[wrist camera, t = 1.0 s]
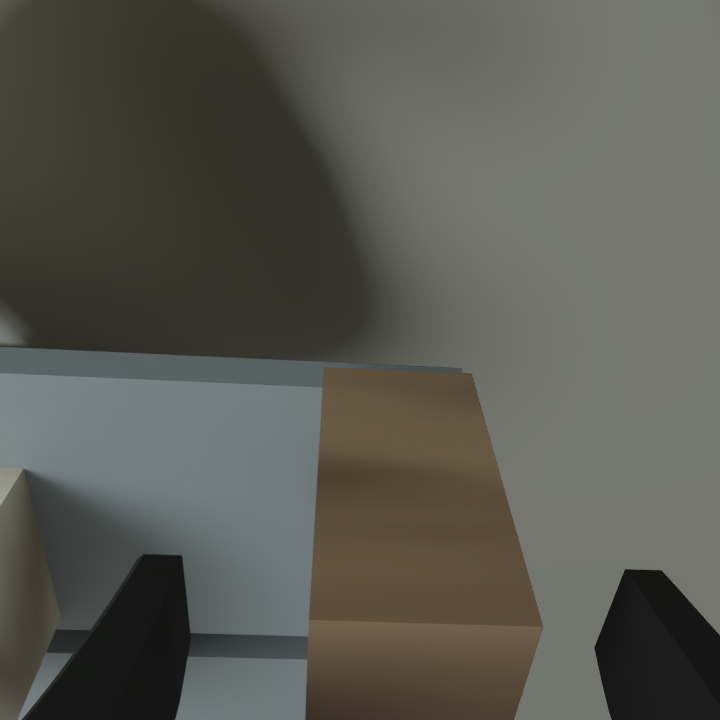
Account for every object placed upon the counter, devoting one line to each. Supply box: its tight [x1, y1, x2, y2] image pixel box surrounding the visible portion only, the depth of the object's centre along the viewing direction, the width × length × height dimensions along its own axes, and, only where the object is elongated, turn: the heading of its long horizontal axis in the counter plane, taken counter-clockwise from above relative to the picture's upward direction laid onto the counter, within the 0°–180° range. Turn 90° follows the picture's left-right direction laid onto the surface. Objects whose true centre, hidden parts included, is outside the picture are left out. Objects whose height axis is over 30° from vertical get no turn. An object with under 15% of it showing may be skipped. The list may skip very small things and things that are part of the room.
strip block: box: [0, 347, 543, 720], centre depth 14 cm, size 8×18×7 cm, turn 86°
